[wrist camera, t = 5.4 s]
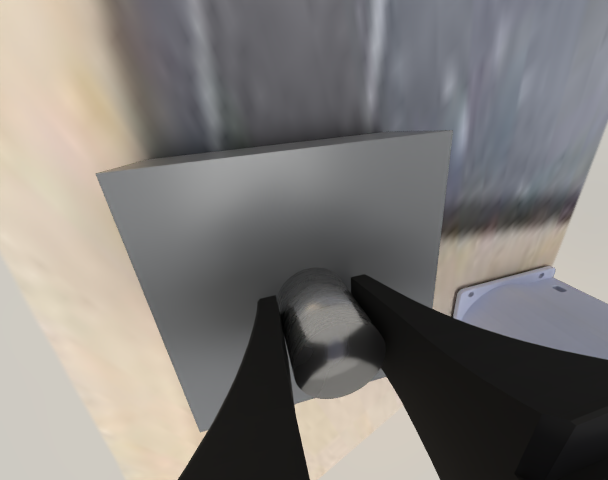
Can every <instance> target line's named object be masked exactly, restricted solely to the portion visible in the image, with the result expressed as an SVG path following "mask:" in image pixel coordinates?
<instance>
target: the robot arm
mask: <svg viewBox="0 0 608 480" xmlns="http://www.w3.org/2000/svg"><path fill="white" fill-rule="evenodd" d="M554 274H555V268H553V267H551V266H547V267H543V268H539V269H535V270H532V271H528V272H524V273H520V274H516V275H513V276H509V277H505V278H501V279H498V280H494V281H490V282H486V283H482V284H479V285H475V286H471V287H467V288H464V289H461V290H460V291H459V292H458V294H457V298H456V304H455V309H454V315H453V318H452V317H450V316H447V315H445V314H443V313H440V312H438V311H436V310H434V309H431V308H429V307H427V306H425V305H423V304H421V303H418V302H416V301H414V300H412V299H410V298H408V297H407V296H405V295H403V294H401V293H399V292H397V291H395V290H393V289H391V288H390V287H388V286H386V285H384V284H382V283H381V282H379V281H377V280H375V279H373V278H371V277H369V276H368V275H365V274H363V275H359V276H354V277H351V294H352V295H353V297H354V298H355V300H356V301H357V302H358V304H359V305H360V306H361V308H362V309H363V311H364V312H365V313H366V315H367V316H368V317H369V319H370V320H371V322H372V323H373V324H374V326H375V327H376V329H377V330H378V331H379V333H380V334H381V336H382V337H383V339H384V341H385V346H386V354H385V359H384V362H383V364H382V366H381V369H382V370H383V372H384V373H385V375H386V377H387V378H388V380H389V381H390V383H391V384H392V386H393V388H394V389H395V391H396V393H397V394H398V396H399V398H400V399H401V401H402V403H403V405H404V407H405V409H406V411H407V413H408V415H409V417H410V419H411V421H412V422H413V425H414V426H415V428H416V430H417V432H418V434H419V436H420V439H421V441H422V442H423V445H424V447H425V449H426V451H427V452H428V455H429V457H430V459H431V461H432V463H433V465H434V467H435V469H436V472H437V474H438V476H439V478H440V480H608V304H607V303H605V302H603V301H601V300H599V299H596V298H594V297H592V296H590V295H588V294H586V293H584V292H582V291H580V290H578V289H576V288H573V287H572V286H570V285H568V284H566V283H563V282H561V281H559V280H557V279H555V278H553V276H554ZM178 480H310V479H309V474H308V469H307V465H306V460H305V456H304V451H303V447H302V442H301V437H300V433H299V428H298V424H297V419H296V414H295V407H294V399H293V391H292V383H291V375H290V367H289V360H288V354H287V349H286V344H285V338H284V333H283V328H282V322H281V317H280V312H279V306H278V302H277V299H276V295H274V296H270V297H265V298H261V299H259V301H258V302H257V312H256V317H255V321H254V326H253V329H252V333H251V336H250V340H249V343H248V346H247V348H246V351H245V354H244V357H243V360H242V362H241V365H240V367H239V370H238V372H237V375H236V377H235V379H234V381H233V383H232V386H231V388H230V390H229V392H228V394H227V396H226V398H225V400H224V402H223V404H222V406H221V408H220V410H219V412H218V414H217V416H216V417H215V419H214V421H213V423H212V425H211V426H210V428H209V430H208V432H207V433H206V435H205V437H204V438H203V440H202V442H201V443H200V445H199V446H198V448H197V450H196V451H195V453H194V455H193V456H192V458H191V460H190V461H189V463H188V465H187V466H186V468H185V469H184V471H183V472H182V474H181V476H180V477H179V479H178Z"/></svg>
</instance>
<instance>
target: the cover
mask: <svg viewBox="0 0 608 480" xmlns="http://www.w3.org/2000/svg"><path fill="white" fill-rule="evenodd" d="M452 135H453V130H444V131H395V132H379V133H371V134H362V135H353V136H345V137H336V138H328V139H319V140H310V141H302V142H293V143H285V144H276V145H267V146H259V147H250V148H242V149H233V150H224V151H216V152H207V153H199V154H190V155H181V156H173V157H164V158H156V159H147V160H143V161H140V162H136V163H132V164H129V165H125V166H122V167H118V168H114V169H111V170H107V171H103V172H100V173H96V176H97V178H98V181H99V183H100V186H101V188H102V191H103V193H104V196H105V198H106V201H107V203H108V206H109V208H110V211H111V213H112V216H113V218H114V221H115V223H116V225H117V228H118V230H119V233H120V235H121V238H122V240H123V243H124V245H125V248H126V250H127V253H128V255H129V258H130V260H131V263H132V265H133V268H134V270H135V273H136V275H137V277H138V280H139V282H140V285H141V287H142V290H143V292H144V295H145V297H146V300H147V302H148V305H149V307H150V310H151V312H152V315H153V317H154V320H155V322H156V324H157V327H158V329H159V332H160V334H161V337H162V339H163V342H164V344H165V347H166V349H167V352H168V354H169V357H170V359H171V362H172V364H173V367H174V369H175V372H176V374H177V376H178V379H179V381H180V384H181V386H182V389H183V391H184V394H185V396H186V399H187V401H188V404H189V406H190V409H191V411H192V414H193V416H194V419H195V421H196V424H197V426H198V428H199V431H200V432H203V431H206V430H209V428H210V426H211V425H212V423H213V421H214V419H215V417H216V416H217V414H218V412H219V410H220V408H221V406H222V404H223V402H224V400H225V398H226V396H227V394H228V392H229V390H230V388H231V386H232V383H233V381H234V379H235V377H236V375H237V372H238V370H239V367H240V365H241V362H242V360H243V357H244V354H245V351H246V348H247V346H248V343H249V340H250V336H251V333H252V329H253V326H254V321H255V317H256V312H257V302H258V301H259V299H261V298H265V297H270V296H274V295H276V299H277V302H278V306H279V312H280V317H281V322H282V328H283V333H284V338H285V344H286V349H287V354H288V360H289V367H290V375H291V383H292V391H293V399H294V404H296V403H300V402H303V401H306V400H310V399H313V398H320V399H333V398H338V397H342V396H345V395H348V394H351V393H353V392H355V391H357V390H359V389H360V388H362V387H363V386H365V385H366V384H367V383H368V382H370V381H373V380H377V379H380V378H383V377H386V375H385V373H384V372H383V370H382V369H381V366H382V364H383V362H384V359H385V354H386V346H385V341H384V339H383V337H382V336H381V334H380V333H379V331H378V330H377V329H376V327H375V326H374V324H373V323H372V322H371V320H370V319H369V317H368V316H367V315H366V313H365V312H364V311H363V309H362V308H361V306H360V305H359V304H358V302H357V301H356V300H355V298H354V297H353V295H352V294H351V277H354V276H359V275H363V274H365V275H368V276H369V277H371V278H373V279H375V280H377V281H379V282H381V283H382V284H384V285H386V286H388V287H390V288H391V289H393V290H395V291H397V292H399V293H401V294H403V295H405V296H407V297H408V298H410V299H412V300H414V301H416V302H418V303H421V304H423V305H425V306H427V307H429V308H431V309H432V307H433V298H434V290H435V281H436V272H437V264H438V255H439V247H440V238H441V229H442V221H443V212H444V204H445V195H446V186H447V178H448V169H449V161H450V152H451V144H452Z"/></svg>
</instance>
